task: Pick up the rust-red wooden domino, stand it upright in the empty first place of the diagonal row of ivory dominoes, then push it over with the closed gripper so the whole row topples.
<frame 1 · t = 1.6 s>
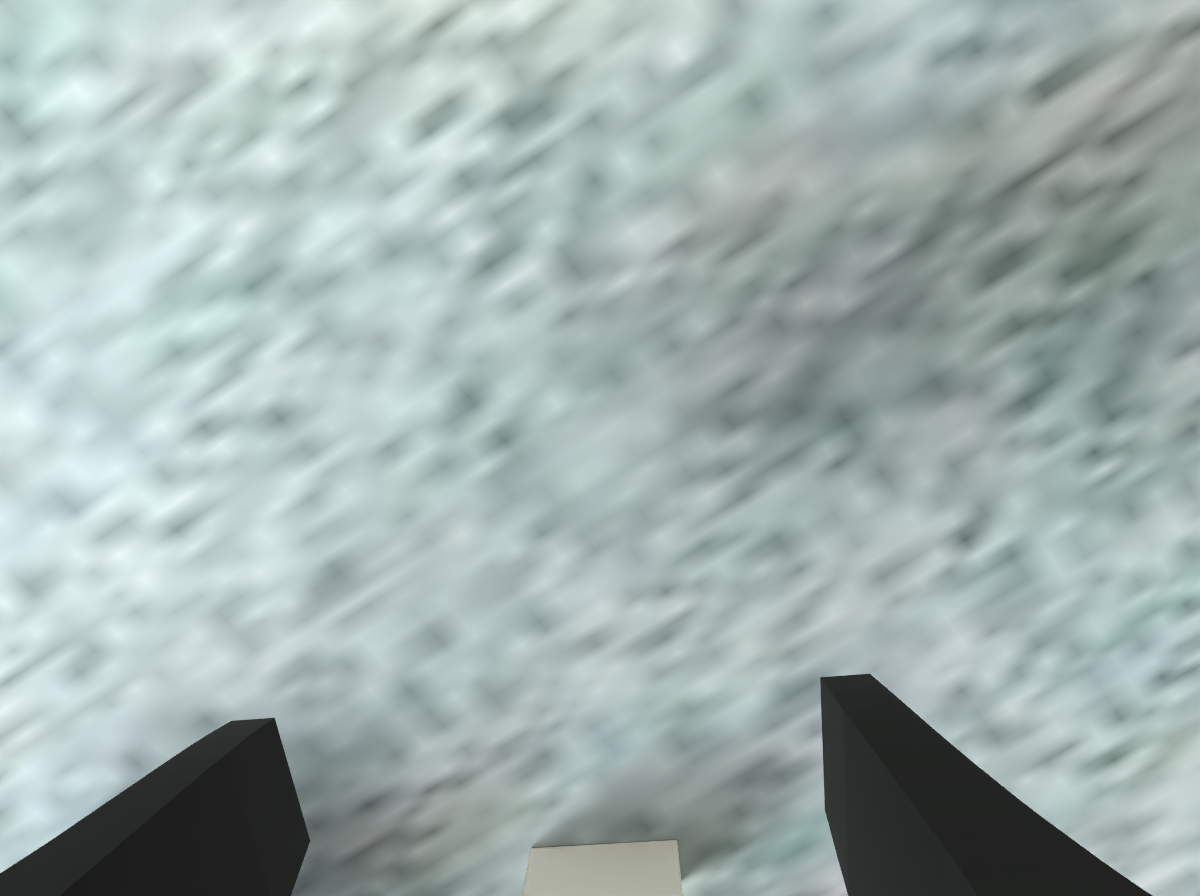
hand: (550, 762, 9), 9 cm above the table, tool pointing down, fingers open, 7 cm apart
ivory domino 1: (606, 864, 21), on the table
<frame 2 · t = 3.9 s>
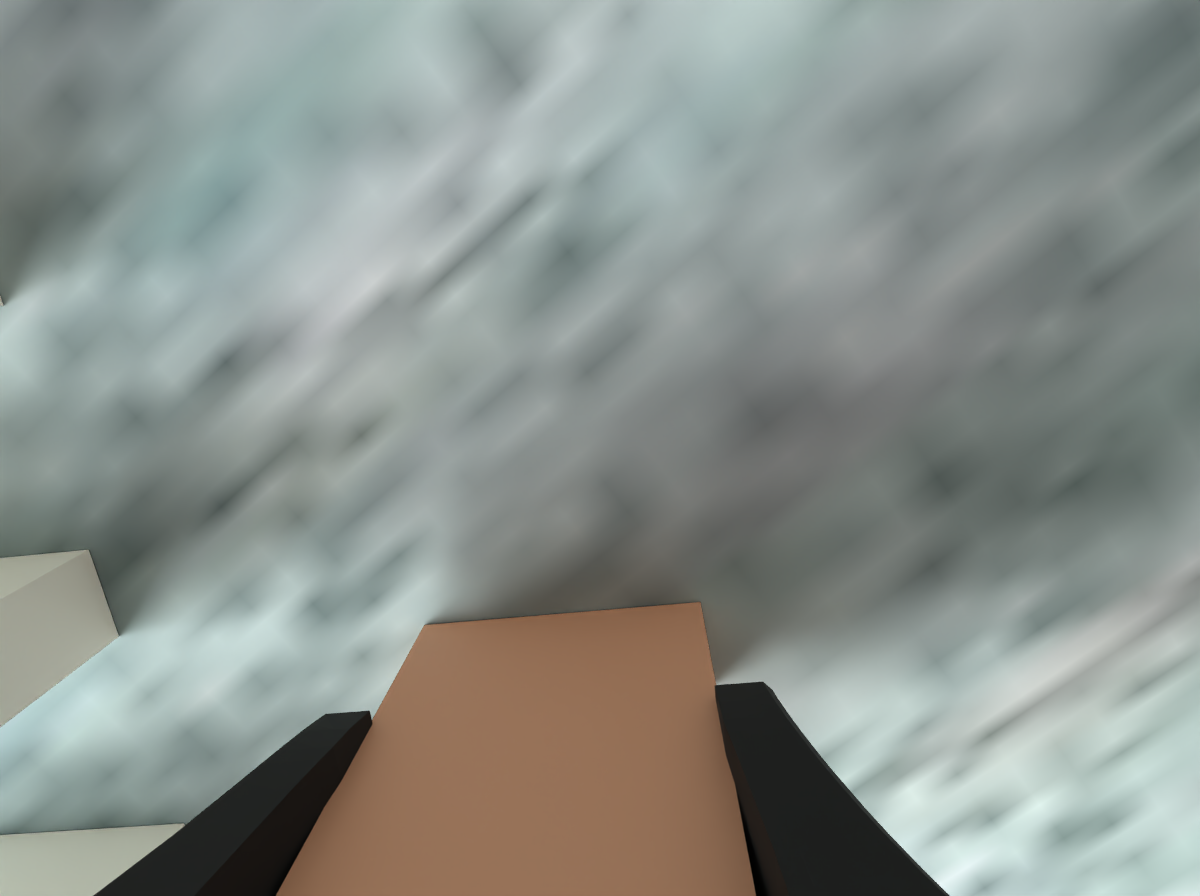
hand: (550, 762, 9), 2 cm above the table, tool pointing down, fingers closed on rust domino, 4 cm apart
ivory domino 3: (83, 864, 13), on the table
rust domino: (566, 657, 11), on the table, touching gripper
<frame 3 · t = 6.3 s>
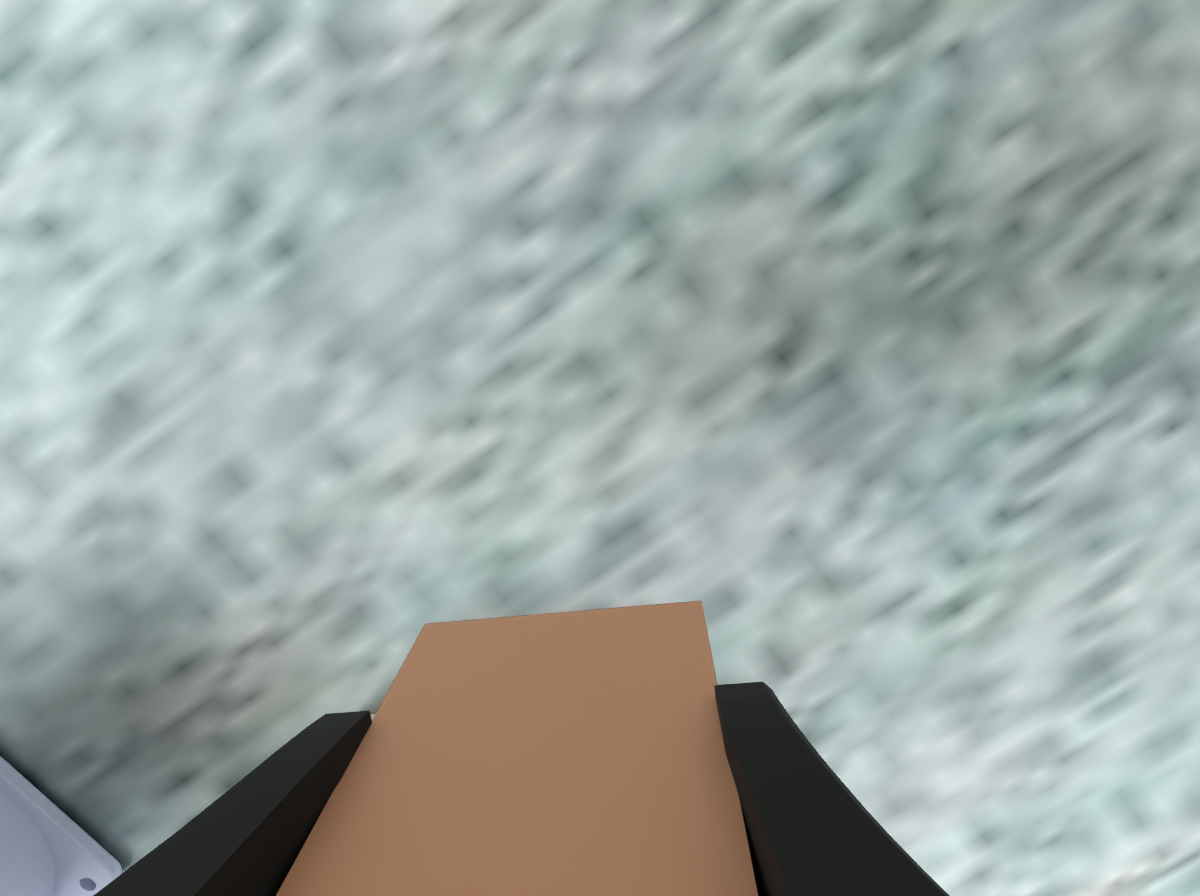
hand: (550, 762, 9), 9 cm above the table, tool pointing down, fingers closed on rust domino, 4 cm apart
rust domino: (567, 655, 11), point 7 cm above the table, touching gripper
when the fingers open (3 cm above the table, at t = 8.6 s): rust domino stays where it is, on the table.
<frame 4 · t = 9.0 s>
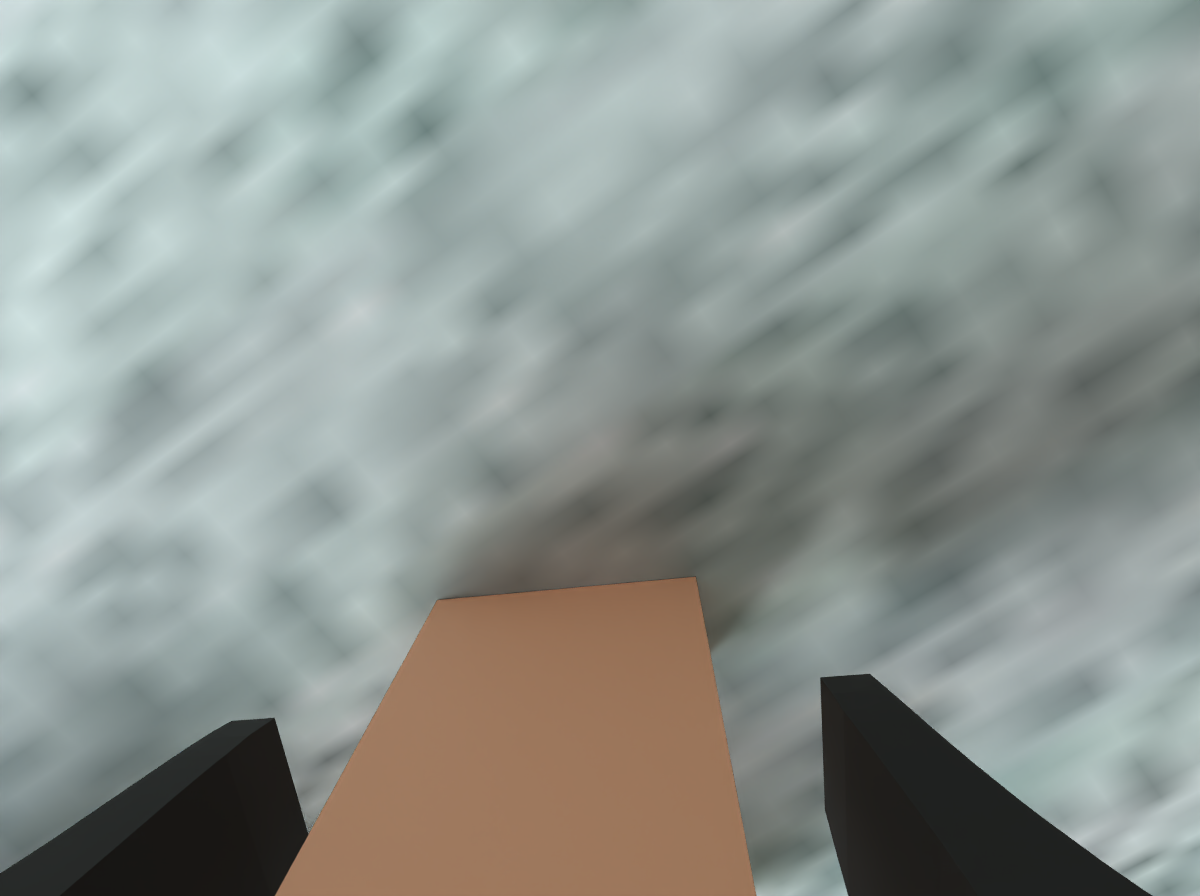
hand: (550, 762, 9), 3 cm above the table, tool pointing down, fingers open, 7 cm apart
rust domino: (570, 629, 12), on the table
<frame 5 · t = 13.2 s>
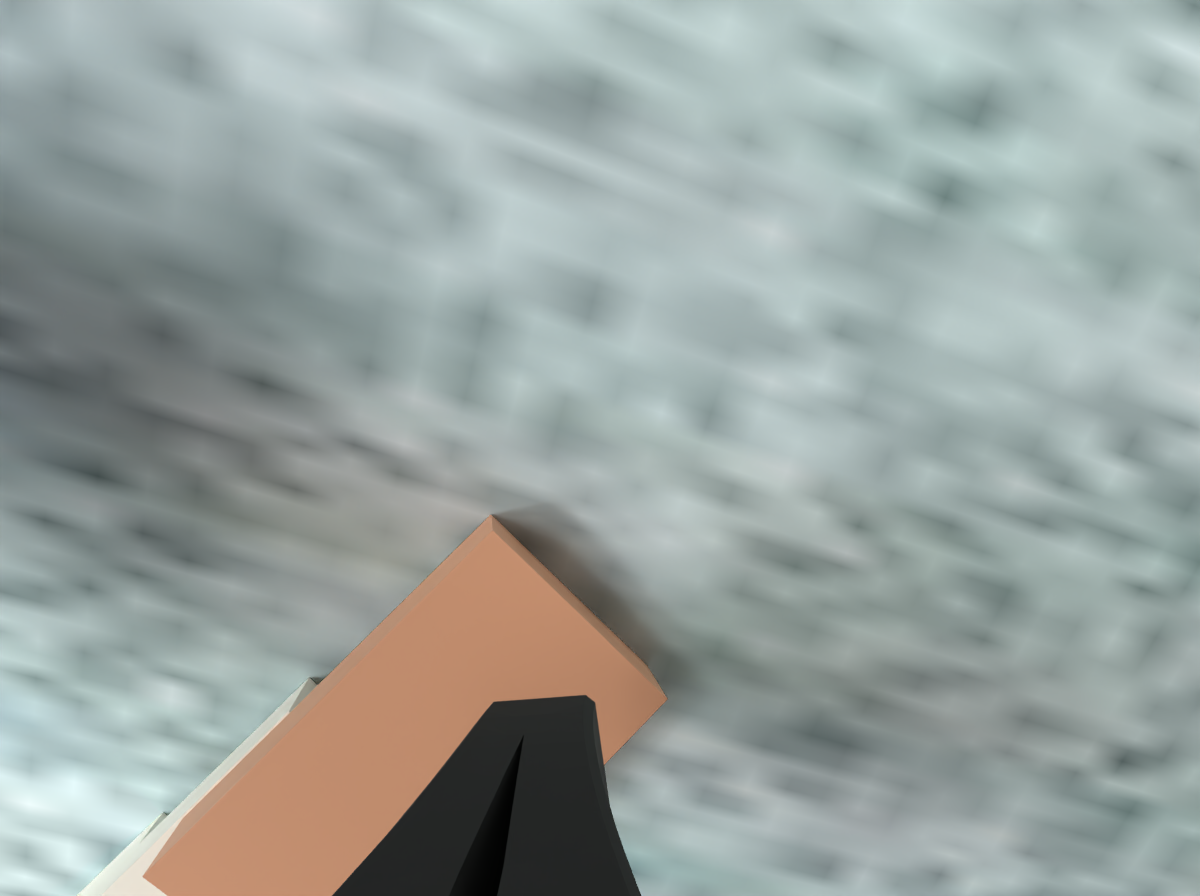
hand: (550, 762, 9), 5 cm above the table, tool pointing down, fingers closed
ivory domino 2: (227, 894, 16), point 1 cm above the table, tilted 74°, touching ivory domino 1, ivory domino 3
rust domino: (576, 603, 13), point 1 cm above the table, tilted 73°, touching ivory domino 1
ivory domino 1: (382, 764, 14), point 1 cm above the table, tilted 73°, touching ivory domino 2, rust domino
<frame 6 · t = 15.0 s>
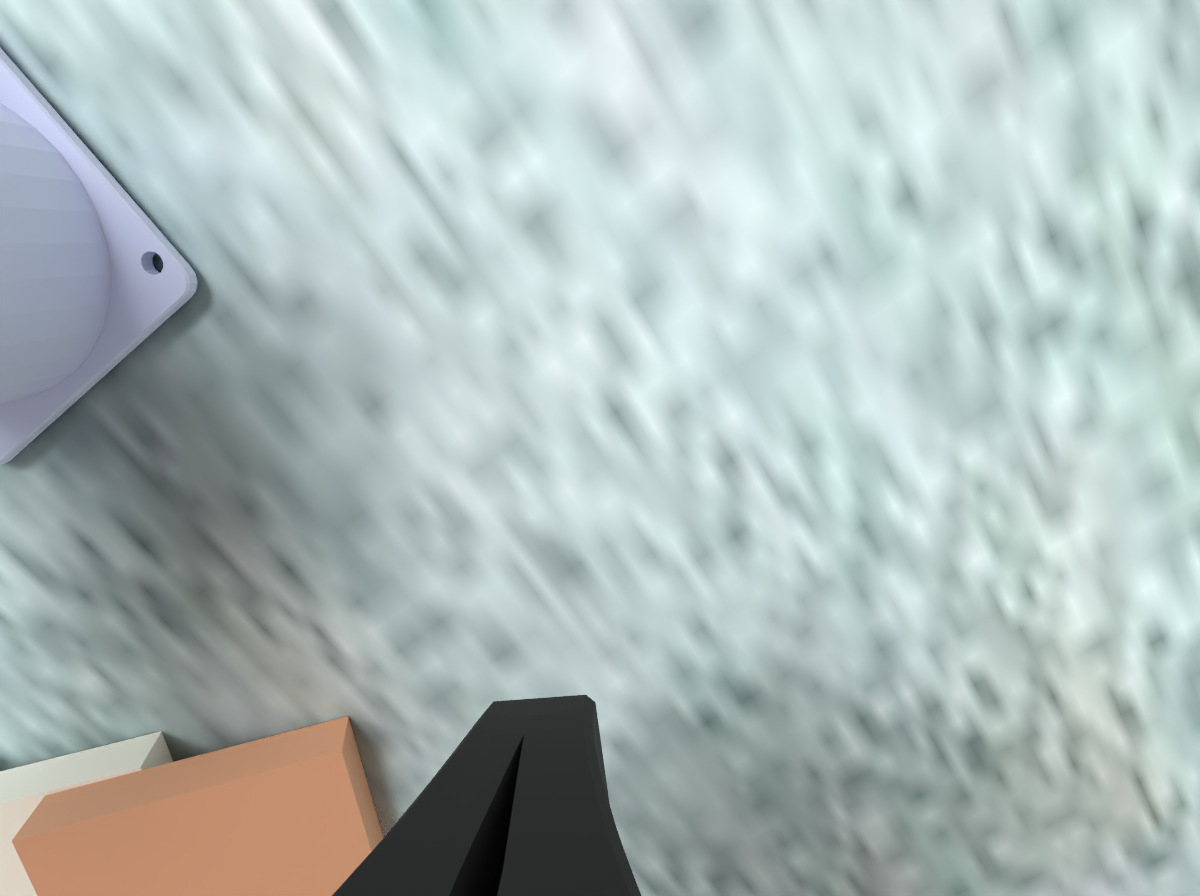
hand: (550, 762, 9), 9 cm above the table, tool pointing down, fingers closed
rust domino: (364, 798, 20), point 1 cm above the table, tilted 74°, touching ivory domino 1
ivory domino 1: (175, 811, 21), point 1 cm above the table, tilted 74°, touching ivory domino 2, rust domino
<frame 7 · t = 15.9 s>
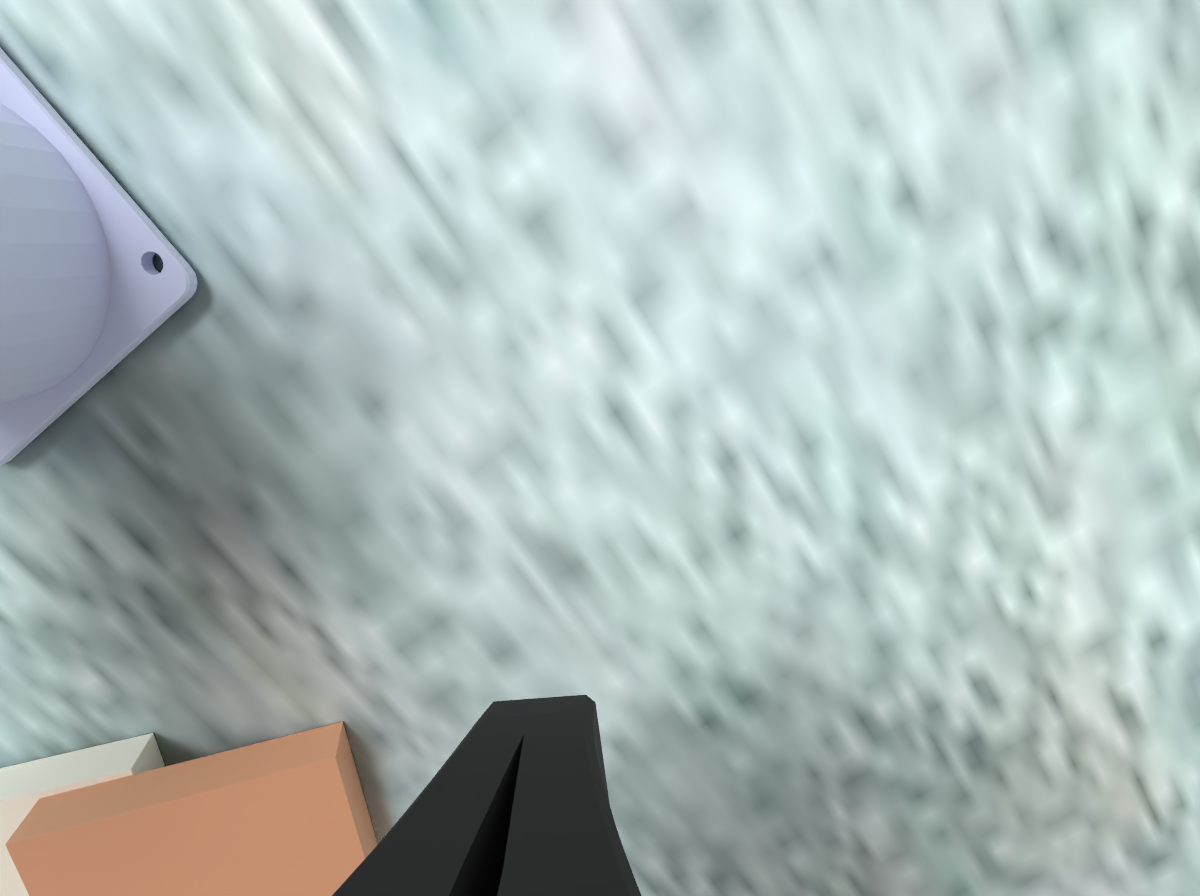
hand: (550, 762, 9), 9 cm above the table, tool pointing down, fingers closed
rust domino: (357, 803, 20), point 1 cm above the table, tilted 74°, touching ivory domino 1
ivory domino 1: (165, 813, 21), point 1 cm above the table, tilted 75°, touching rust domino
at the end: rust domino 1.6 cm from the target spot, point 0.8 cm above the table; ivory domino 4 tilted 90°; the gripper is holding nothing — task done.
